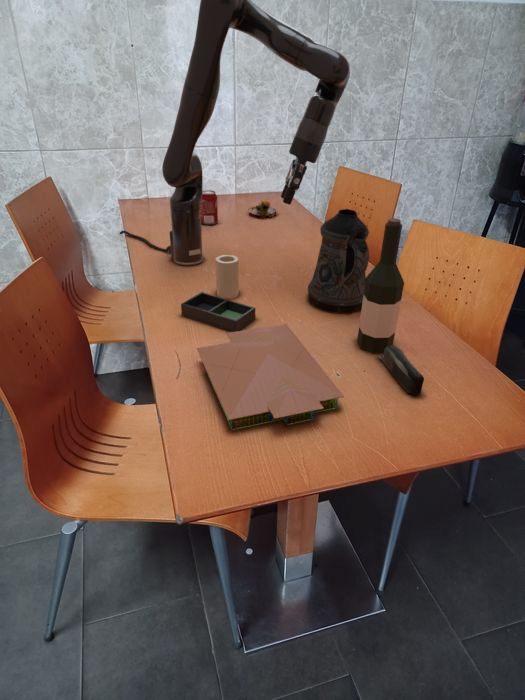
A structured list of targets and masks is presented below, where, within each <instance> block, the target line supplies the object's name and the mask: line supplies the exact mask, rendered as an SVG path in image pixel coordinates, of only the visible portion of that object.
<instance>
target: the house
mask: <svg viewBox="0 0 525 700" xmlns="http://www.w3.org/2000/svg"><path fill="white" fill-rule="evenodd" d="M226 335H227V336H228V338H229V340H230V342H225V343H219V344H213V345H206V346H200V347H196V351H197V353H198V355H199V357H200V359H201V362H202V364H203V367H204V368H205V371H206V373H207V377H208V379H209V381H210V384H211V387H212V389H213V391H214V393H215V396H216V397H217V400H218V402H219V404H220V407H221V408H222V411H223V414H224V415H225V418H226V420H227V422H228V425H229V427H230V429H231V431H234V430H239V429H244V428H248V427H253V426H259V425H262V424H268V423H272V422H278V421H282V420H283V421H284V422H285V424H286V425H287V426H288V425H293V424H298V423H303V422H307V421H312V420H315V414H316V413H320V412H325V411H329V410H335V409H337V407H338V399H340V398H344V397H345V395H344V394H343V393H342V392H341V391H340V389H339V388H338V386H336V384H335V383H334V382H333V381H332V380H331V378H330V377H329V376H328V374H327V373H326V371H325V370H323V368H322V367H321V366H320V365H319V363H318V361H316V359H315V358H314V357H313V355H312V354H311V353H310V352H309V351H308V349H307V348H306V347H305V346H304V344H303V343H302V342H301V340H299V339H300V338H298V337H297V335H296V334H295V333H294V331H292V329H291V328H290V327H289V326H288V324H287V323H284V324H277V325H270V326H264V327H256V328H250V329H244V330H243V329H242V330H240V331H237V332H231V331H229V332H226ZM328 401H329V402H328ZM321 402H322V403H321ZM327 404H332V408H331V405H329V407H328V409H327V408H324V405H327ZM267 413H268V414H267ZM263 414H265V415H263ZM308 414H309V415H310V416H309V417H310V418H306V419H303V420H299V421H295V422H290V423H289V418H294V417H297V416H304V415H308ZM255 416H256V417H255ZM247 417H248V418H247ZM260 417H261V418H263V417H267V421H265V422H263V419H261V423H259V418H260ZM242 418H245V421H247V420H248V425H245V426H240V427H236V428H234V426H233V425H234V423H236V424H238V422H242V421H243V419H242ZM238 419H240V420H238ZM251 419H252V420H253V421H252V424H251V425H250V423H251V422H250V421H251ZM255 419H256V420H257V421H256V422H257V423H256V424H255V422H254V420H255ZM234 420H236V421H234Z"/></svg>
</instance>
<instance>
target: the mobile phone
mask: <svg viewBox="0 0 525 700" xmlns="http://www.w3.org/2000/svg"><path fill="white" fill-rule="evenodd" d="M378 359H379V360H380V361H381V362H382V363H383V364H384V365H385V366H386V368H387V369H388V371H389V372H390V373H391V374H392V375H393V377H394V378H395V380H396V381H397V382H398V383H399V384H400V386H401V387H402V388H403V390H404V392H406V393H407V394H409V395H411V396H418V395H419V396H420V395H421V394H422V390H423V385H424V381H425V377H424V375H423V374H421V372H419V370H418V369H417V368H416V367H415V366H414V364H412V362H411V361H410V360H409V359H408V358H407V356H406V355H405V353H404V351H403V350H402V349H400V348H399V347H397V346H395V345H394V344H393V345H391V346H387V347H386V348H385V350H384V353H383V356H382V355H379V356H378Z"/></svg>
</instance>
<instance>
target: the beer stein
mask: <svg viewBox="0 0 525 700" xmlns="http://www.w3.org/2000/svg"><path fill="white" fill-rule="evenodd" d="M319 230H320V235H321V243H320V248H319V252H318V256H317V261H316V265H315V269H314V272H313V275H312V278H311V280H310V282H309V284H308V286H307V293H308V294H307V295H308V301H309V303H310V304H311V305H312V306H314V307H315V308H316V309H319V310H321V311H324V312H328V313H334V314H349V313H354V312H357V311H359V310H362V302H363V295H364V288H365V281H366V277H367V275H366V271H367V269H368V266H369V261H370V250H369V246H368V243H367V241H366V240H367V239H368V236H369V234H370V230H369V228H368V226H367V225H366V224H365V223H364V222H363V221H362V220H361V218H360V217H359V216H358V214H357V211H356V210H353V209H348V208H345V209H339V210H338V212H337V213H336V214H335V215H334V216H333V217H331V218H329V219H327V220H326V221H325V222H324V223H322V225H321V226H320V229H319Z"/></svg>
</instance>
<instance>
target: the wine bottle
mask: <svg viewBox="0 0 525 700" xmlns="http://www.w3.org/2000/svg"><path fill="white" fill-rule="evenodd" d="M402 230H403V224H402V220H400V218H392V217H391V218H389V219H388V220H387V222H385V225H384V230H383V231H384V232H383V238H382V244H381V249H380V250H381V251H380V257H379V261H378V262H377V264H376V265H375V266H374V267H373V268H372V270H370V272H369V273H368V274H367V275H366V281H365V288H364V295H363V302H362V308H361V309H360V310H361V311H360V317H359V324H358V330H357V331H358V333H357V339H356V342H357V345H358V347H359V349H360V350H363V351H365V352H368V353H370V354H384V350H385V348H386V347H387V346H391V345H393V346H394V342H395V341H394V340H395V335H396V330H397V324H398V319H399V314H400V308H401V303H402V297H403V292H404V286H405V281H404V279H403V276H402V274H401V272H400V270H399V269H400V268H399V267H398V265H397V259H398V252H399V248H400V242H401V235H402Z"/></svg>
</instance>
